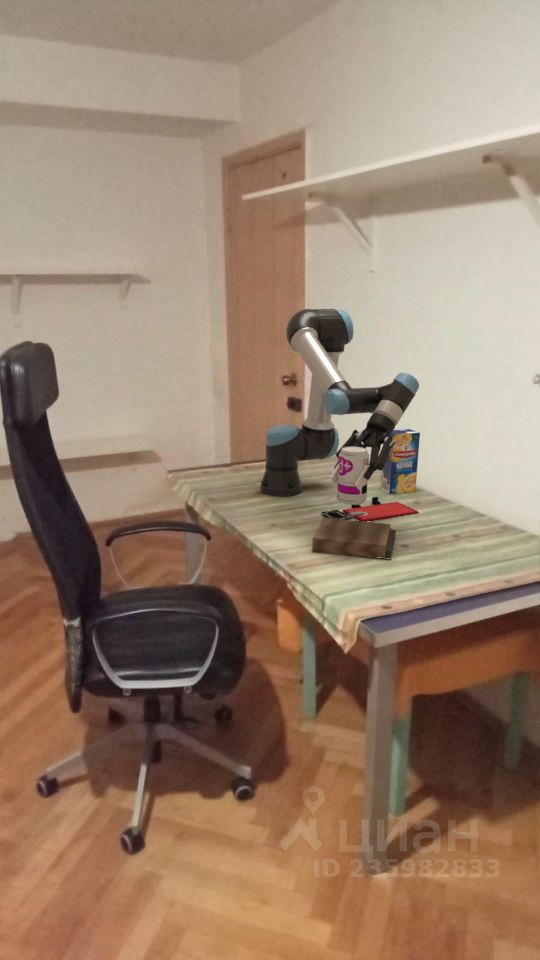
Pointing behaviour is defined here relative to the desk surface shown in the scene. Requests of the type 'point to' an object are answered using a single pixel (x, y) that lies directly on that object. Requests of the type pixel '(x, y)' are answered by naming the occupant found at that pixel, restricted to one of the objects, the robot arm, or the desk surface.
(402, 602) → the desk surface
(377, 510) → the red board with handle
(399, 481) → the beverage box
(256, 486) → the desk surface
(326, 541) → the brown flat block
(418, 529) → the desk surface
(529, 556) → the desk surface
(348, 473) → the supplement can
